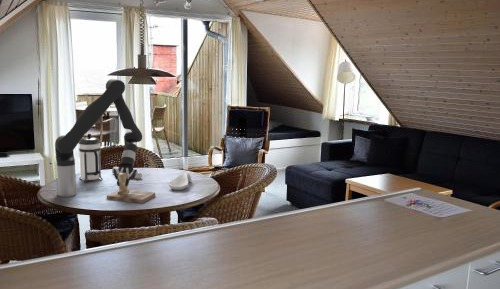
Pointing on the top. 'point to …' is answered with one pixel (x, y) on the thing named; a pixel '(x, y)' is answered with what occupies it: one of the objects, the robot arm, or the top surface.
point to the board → (132, 196)
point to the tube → (138, 175)
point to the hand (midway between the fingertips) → (122, 185)
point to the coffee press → (90, 158)
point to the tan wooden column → (123, 184)
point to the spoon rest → (180, 182)
